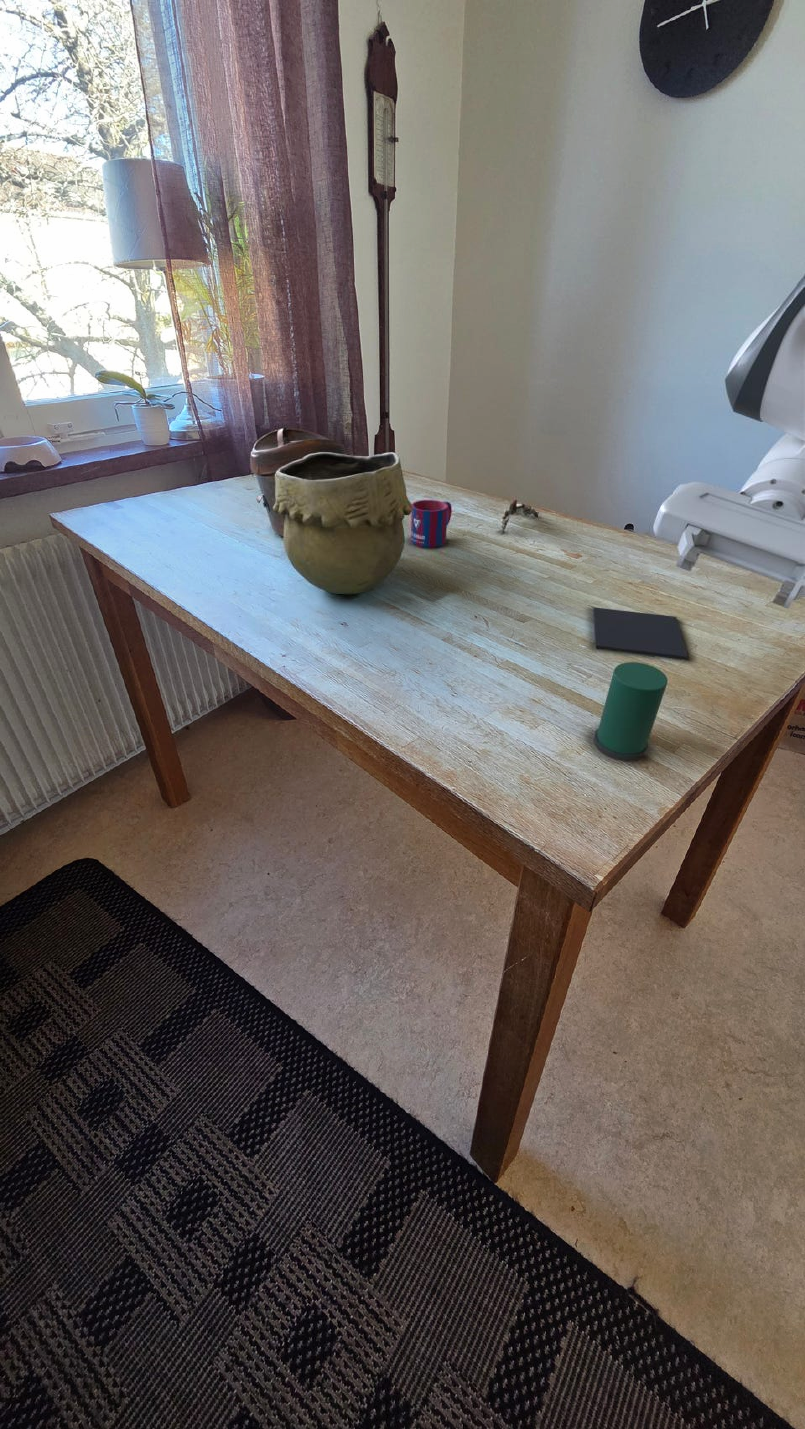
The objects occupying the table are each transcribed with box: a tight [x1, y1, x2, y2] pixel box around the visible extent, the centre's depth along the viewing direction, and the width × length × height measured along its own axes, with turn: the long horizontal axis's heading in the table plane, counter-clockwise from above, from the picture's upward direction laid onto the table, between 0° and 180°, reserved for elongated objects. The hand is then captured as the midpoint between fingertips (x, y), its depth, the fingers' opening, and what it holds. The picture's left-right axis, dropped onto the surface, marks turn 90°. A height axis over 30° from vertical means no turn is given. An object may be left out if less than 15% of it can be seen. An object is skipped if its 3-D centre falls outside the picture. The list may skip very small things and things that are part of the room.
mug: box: [410, 499, 453, 549], centre depth 113 cm, size 7×10×7 cm
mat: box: [592, 607, 689, 661], centre depth 86 cm, size 12×12×1 cm
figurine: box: [500, 499, 540, 533], centre depth 121 cm, size 6×4×15 cm
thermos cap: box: [593, 661, 669, 762], centre depth 63 cm, size 6×6×9 cm
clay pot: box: [273, 452, 412, 595], centre depth 91 cm, size 21×21×20 cm
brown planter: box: [249, 426, 348, 537], centre depth 113 cm, size 18×20×18 cm
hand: (732, 581), depth 58 cm, fingers open, 8 cm apart
